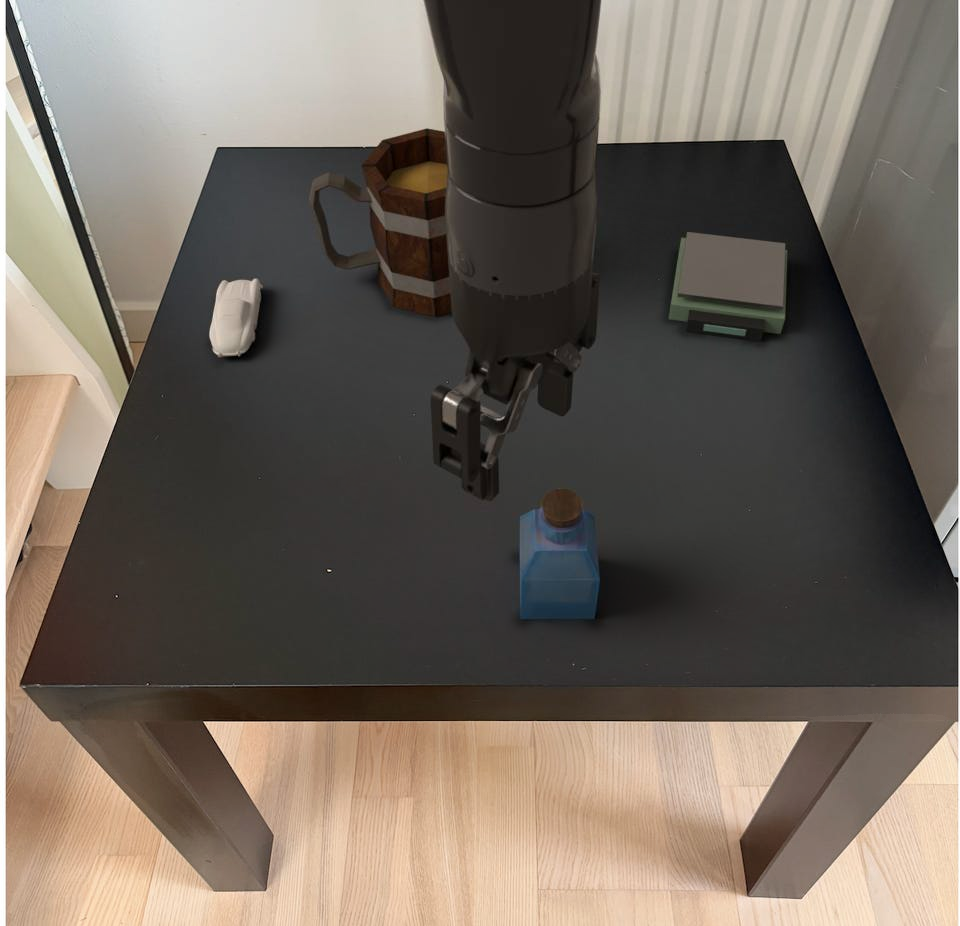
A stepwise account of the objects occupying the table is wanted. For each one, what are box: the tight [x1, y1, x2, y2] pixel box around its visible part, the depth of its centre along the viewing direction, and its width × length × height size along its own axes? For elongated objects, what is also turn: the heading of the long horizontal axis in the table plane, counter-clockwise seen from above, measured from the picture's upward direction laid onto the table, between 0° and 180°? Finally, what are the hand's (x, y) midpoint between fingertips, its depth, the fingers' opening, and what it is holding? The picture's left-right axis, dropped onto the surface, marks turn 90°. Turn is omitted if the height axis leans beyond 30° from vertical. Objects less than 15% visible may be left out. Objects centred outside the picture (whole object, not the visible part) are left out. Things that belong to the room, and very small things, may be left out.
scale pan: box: [677, 231, 786, 310], centre depth 100 cm, size 11×11×1 cm
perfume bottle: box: [519, 487, 601, 620], centre depth 74 cm, size 6×6×12 cm
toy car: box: [208, 278, 264, 358], centre depth 100 cm, size 5×12×4 cm, turn 3°
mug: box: [308, 127, 452, 318], centre depth 100 cm, size 20×14×15 cm
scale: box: [668, 237, 788, 342], centre depth 101 cm, size 12×14×2 cm
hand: (519, 448), depth 59 cm, fingers open, 8 cm apart
